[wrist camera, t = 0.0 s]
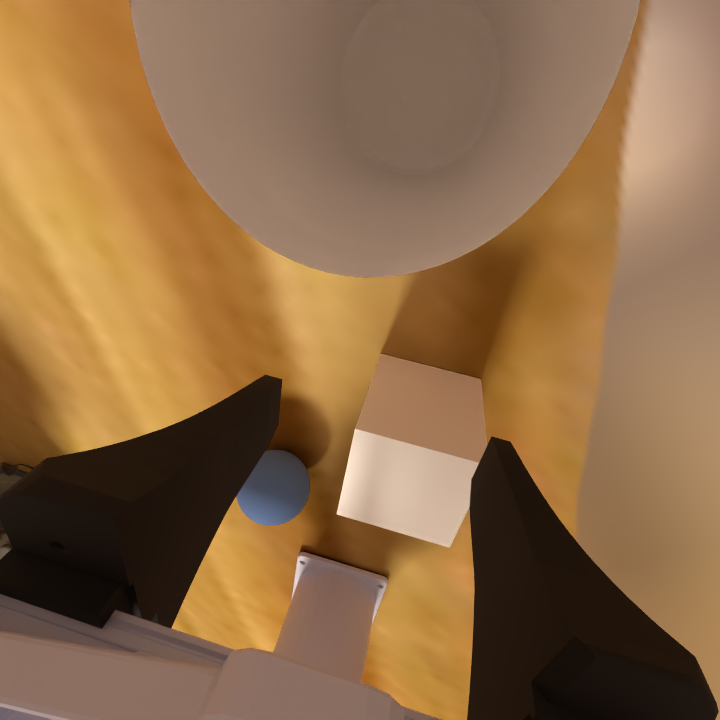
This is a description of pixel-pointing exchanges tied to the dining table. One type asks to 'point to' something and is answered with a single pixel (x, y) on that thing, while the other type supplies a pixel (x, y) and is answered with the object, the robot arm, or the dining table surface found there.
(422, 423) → the beige block
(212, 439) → the robot arm
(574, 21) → the cup
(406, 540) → the dining table surface
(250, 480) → the ball
